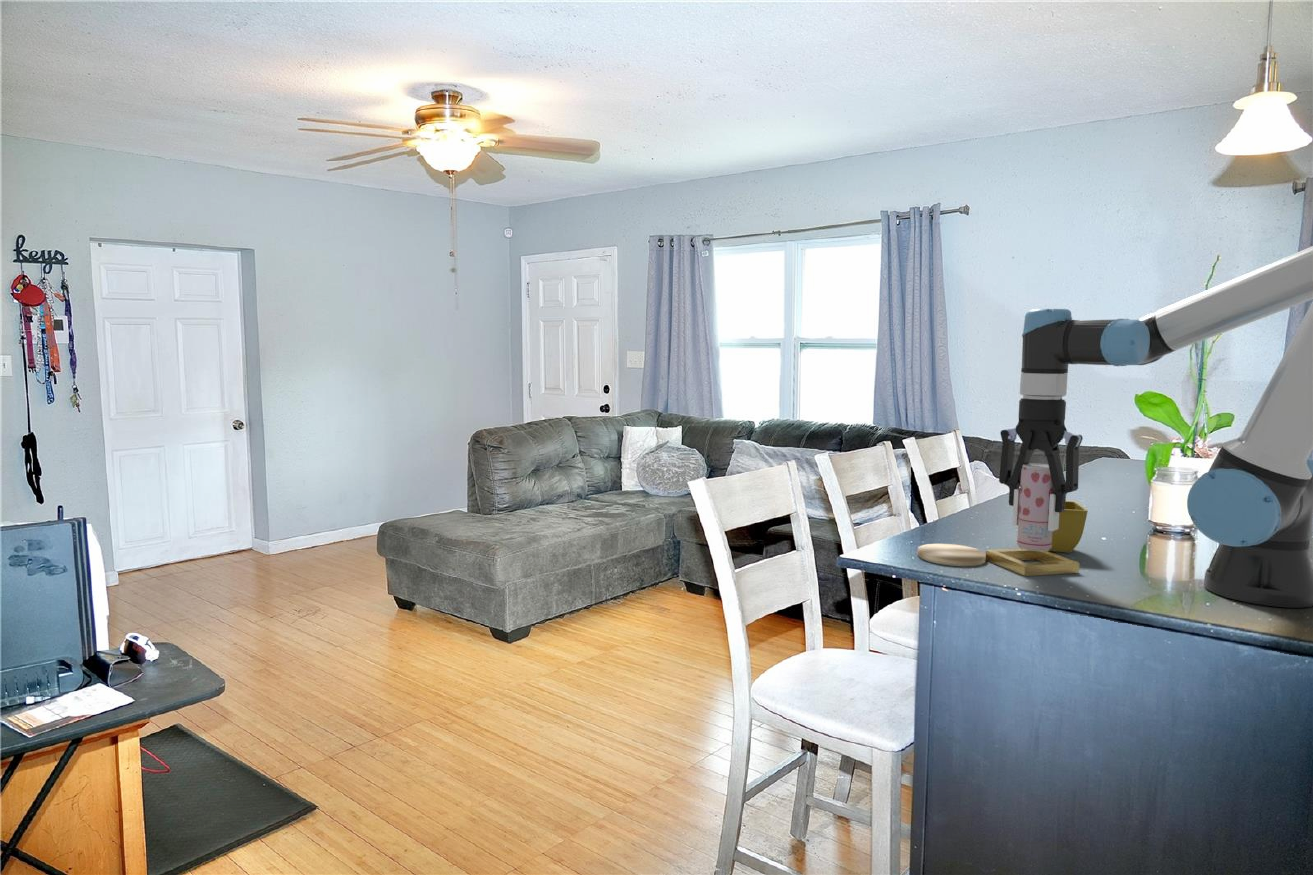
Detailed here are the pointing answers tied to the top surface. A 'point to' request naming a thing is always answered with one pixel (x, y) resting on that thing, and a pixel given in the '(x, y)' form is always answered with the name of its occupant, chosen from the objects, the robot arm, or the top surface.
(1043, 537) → the pink strawberry drink can
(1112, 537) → the top surface
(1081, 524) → the flower pot
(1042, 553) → the square wooden tray
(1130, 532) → the top surface
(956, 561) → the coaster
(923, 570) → the top surface
